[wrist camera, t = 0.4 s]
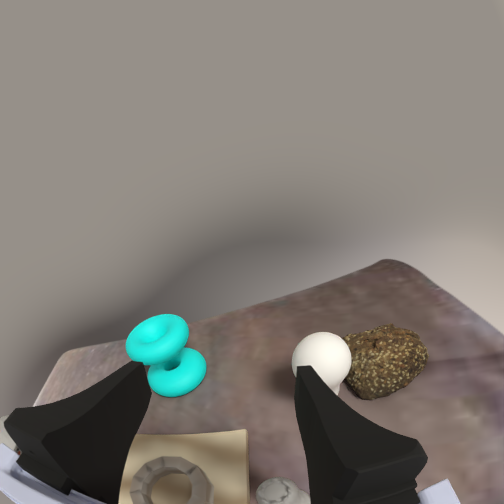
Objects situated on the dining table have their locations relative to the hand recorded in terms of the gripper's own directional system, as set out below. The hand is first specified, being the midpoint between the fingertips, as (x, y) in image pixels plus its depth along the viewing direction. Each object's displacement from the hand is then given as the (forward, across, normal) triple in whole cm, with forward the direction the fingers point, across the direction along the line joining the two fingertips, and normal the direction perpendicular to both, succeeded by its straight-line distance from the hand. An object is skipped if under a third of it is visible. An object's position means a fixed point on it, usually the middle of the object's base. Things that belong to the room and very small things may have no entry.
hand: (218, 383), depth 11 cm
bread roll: (+18, -19, +13) cm, 29 cm away
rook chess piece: (+1, -5, +19) cm, 20 cm away
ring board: (+3, +7, +22) cm, 23 cm away
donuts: (+24, +11, +19) cm, 32 cm away
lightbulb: (+14, -10, +16) cm, 23 cm away
